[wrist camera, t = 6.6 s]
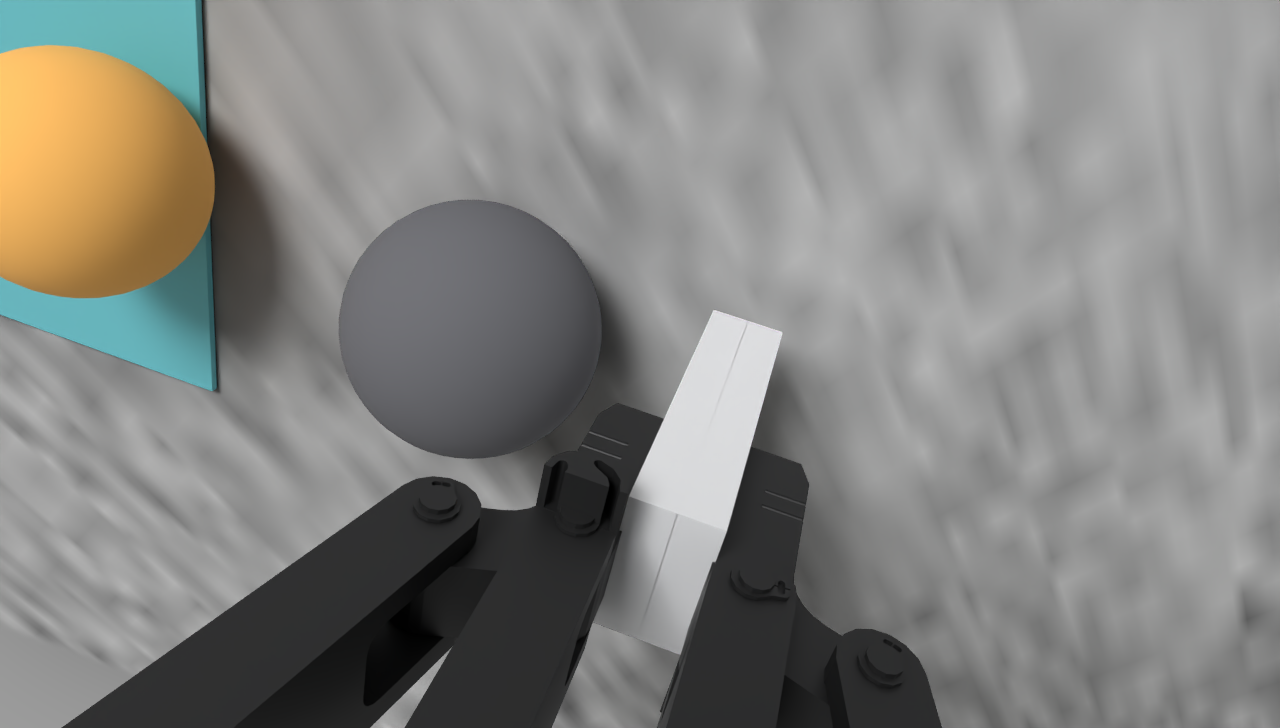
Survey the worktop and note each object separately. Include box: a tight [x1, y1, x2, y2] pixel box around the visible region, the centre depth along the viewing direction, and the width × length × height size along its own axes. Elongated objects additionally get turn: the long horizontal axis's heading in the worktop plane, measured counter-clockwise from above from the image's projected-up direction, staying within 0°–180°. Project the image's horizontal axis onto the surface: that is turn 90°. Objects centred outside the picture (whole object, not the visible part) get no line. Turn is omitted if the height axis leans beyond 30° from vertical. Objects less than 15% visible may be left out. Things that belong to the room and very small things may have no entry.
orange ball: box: [0, 45, 215, 298], centre depth 20 cm, size 6×6×6 cm
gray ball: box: [339, 200, 602, 459], centre depth 19 cm, size 6×6×6 cm
